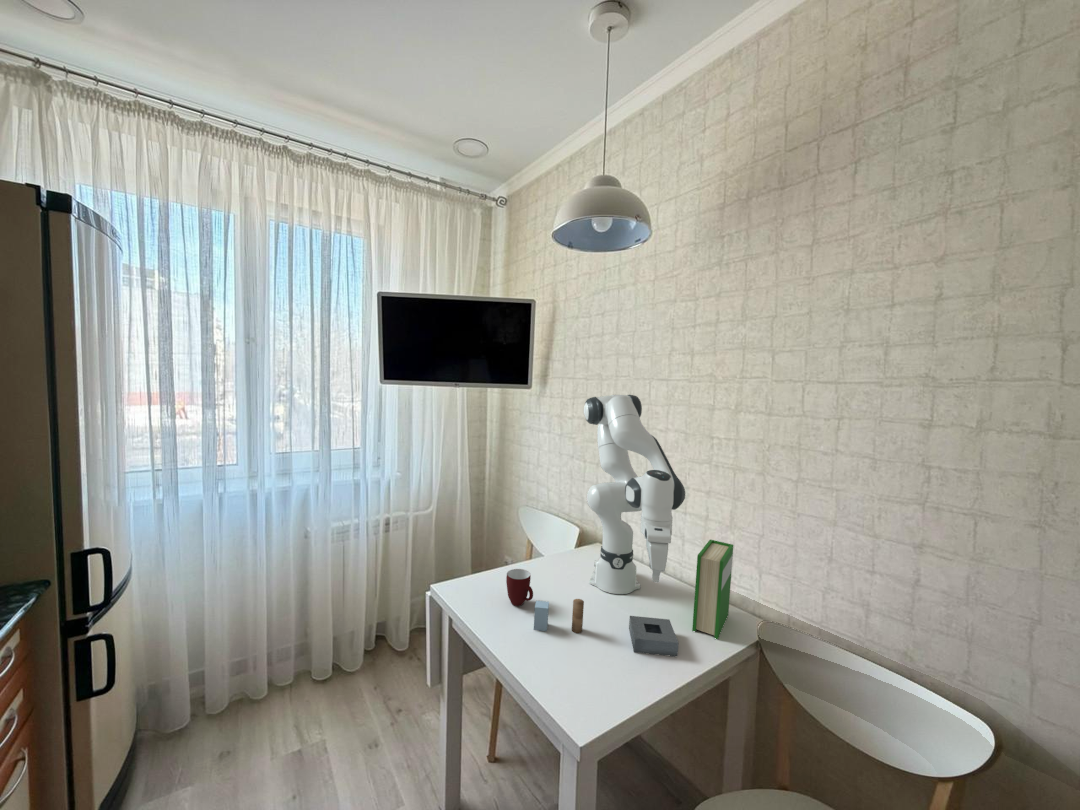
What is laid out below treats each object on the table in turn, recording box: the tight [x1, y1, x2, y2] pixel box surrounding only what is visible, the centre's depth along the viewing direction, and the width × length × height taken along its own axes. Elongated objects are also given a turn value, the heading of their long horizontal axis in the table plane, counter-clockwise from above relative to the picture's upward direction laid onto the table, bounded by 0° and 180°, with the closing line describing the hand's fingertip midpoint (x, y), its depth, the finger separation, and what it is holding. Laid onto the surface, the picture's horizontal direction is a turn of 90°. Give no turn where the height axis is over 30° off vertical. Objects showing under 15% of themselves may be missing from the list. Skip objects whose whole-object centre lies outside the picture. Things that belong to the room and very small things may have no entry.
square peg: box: [533, 600, 550, 632], centre depth 131 cm, size 4×4×7 cm
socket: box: [628, 615, 679, 657], centre depth 126 cm, size 12×12×4 cm
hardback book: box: [691, 539, 734, 640], centre depth 137 cm, size 18×7×24 cm, turn 147°
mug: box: [505, 568, 534, 607], centre depth 143 cm, size 11×8×10 cm
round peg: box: [571, 598, 585, 634], centre depth 130 cm, size 3×3×9 cm
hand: (653, 574), depth 125 cm, fingers open, 8 cm apart
